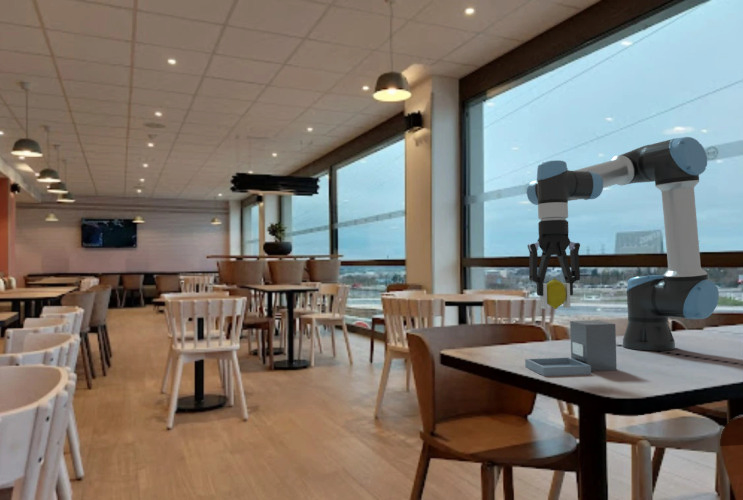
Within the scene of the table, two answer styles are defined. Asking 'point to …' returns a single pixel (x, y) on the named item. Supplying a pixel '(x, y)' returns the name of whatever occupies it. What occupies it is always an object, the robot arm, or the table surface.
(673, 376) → the table surface
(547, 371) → the dish
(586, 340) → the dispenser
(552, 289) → the lemon
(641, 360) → the table surface
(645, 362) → the table surface
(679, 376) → the table surface
